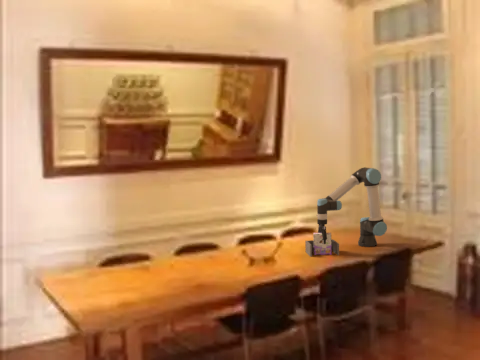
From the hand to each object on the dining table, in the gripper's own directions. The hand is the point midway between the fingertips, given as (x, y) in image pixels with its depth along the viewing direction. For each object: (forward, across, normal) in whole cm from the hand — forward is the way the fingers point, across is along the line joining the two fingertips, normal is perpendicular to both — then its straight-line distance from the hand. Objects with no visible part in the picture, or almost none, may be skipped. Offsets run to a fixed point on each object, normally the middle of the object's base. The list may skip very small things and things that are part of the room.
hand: (322, 246), depth 473 cm
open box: (+6, -2, 0) cm, 6 cm away
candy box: (+6, 0, 0) cm, 6 cm away
